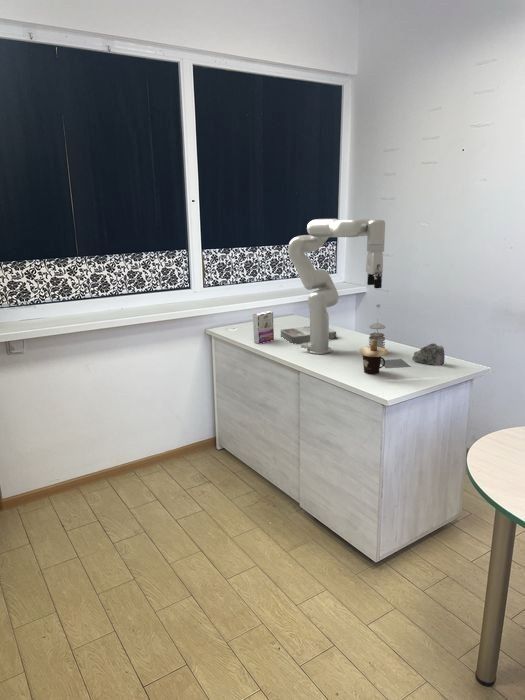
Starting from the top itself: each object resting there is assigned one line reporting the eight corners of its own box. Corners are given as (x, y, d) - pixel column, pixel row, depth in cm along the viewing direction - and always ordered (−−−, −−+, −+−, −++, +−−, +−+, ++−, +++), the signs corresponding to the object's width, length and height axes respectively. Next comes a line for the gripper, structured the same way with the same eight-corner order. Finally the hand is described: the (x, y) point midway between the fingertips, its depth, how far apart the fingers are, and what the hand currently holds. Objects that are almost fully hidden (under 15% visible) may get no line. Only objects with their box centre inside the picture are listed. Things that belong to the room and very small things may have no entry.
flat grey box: (336, 339, 283) (336, 331, 282) (292, 344, 274) (292, 337, 273) (322, 332, 300) (322, 325, 298) (280, 337, 291) (279, 329, 290)
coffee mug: (359, 370, 228) (359, 349, 225) (377, 369, 228) (378, 348, 226) (366, 379, 216) (367, 356, 214) (386, 378, 217) (387, 355, 214)
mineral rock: (410, 362, 237) (411, 342, 234) (424, 358, 243) (426, 338, 240) (434, 369, 227) (435, 347, 224) (448, 364, 233) (449, 343, 230)
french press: (386, 350, 257) (388, 302, 250) (385, 357, 246) (388, 307, 239) (367, 350, 259) (368, 302, 253) (365, 356, 249) (367, 306, 242)
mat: (385, 369, 228) (385, 368, 228) (377, 361, 240) (377, 360, 240) (411, 367, 230) (411, 366, 229) (401, 360, 241) (401, 358, 241)
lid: (364, 357, 213) (364, 344, 211) (356, 349, 224) (356, 337, 223) (391, 356, 214) (392, 343, 213) (382, 348, 226) (382, 336, 224)
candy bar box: (268, 338, 286) (267, 310, 282) (274, 340, 283) (273, 311, 278) (253, 342, 279) (252, 313, 275) (259, 344, 276) (258, 315, 271)
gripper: (361, 247, 232) (360, 284, 237) (373, 250, 215) (372, 289, 220) (377, 246, 233) (376, 283, 237) (390, 249, 216) (388, 289, 221)
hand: (374, 286), depth 229 cm, fingers open, 9 cm apart
